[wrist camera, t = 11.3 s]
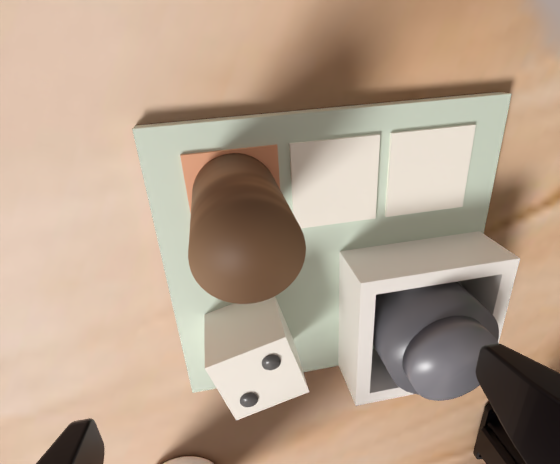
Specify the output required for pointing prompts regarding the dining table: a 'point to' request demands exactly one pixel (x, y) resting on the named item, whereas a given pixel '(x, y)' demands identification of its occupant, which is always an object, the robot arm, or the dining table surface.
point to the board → (345, 217)
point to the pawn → (242, 232)
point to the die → (252, 357)
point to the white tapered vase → (189, 460)
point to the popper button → (432, 338)
